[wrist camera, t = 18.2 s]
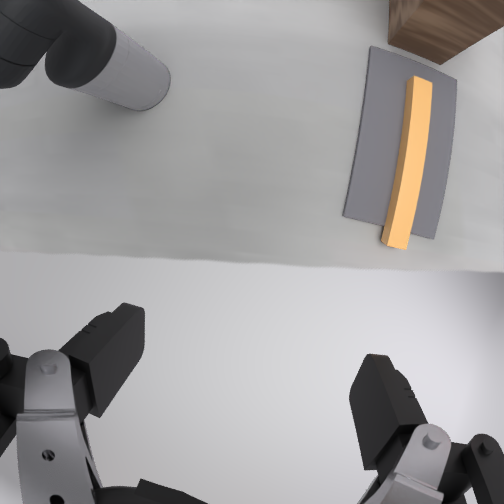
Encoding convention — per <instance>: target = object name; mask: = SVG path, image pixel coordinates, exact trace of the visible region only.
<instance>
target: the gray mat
mask: <svg viewBox="0 0 504 504" xmlns="http://www.w3.org/2000/svg"><path fill="white" fill-rule="evenodd" d="M413 76H417V77H419V78H422V79H424V80H427V81H429V82H432V100H431V113H430V124H429V133H428V141H427V149H426V156H425V163H424V169H423V175H422V181H421V186H420V191H419V196H418V201H417V206H416V211H415V215H414V220H413V224H412V228H411V232H410V233H412V234H416V235H420V236H423V237H427V238H431V239H434V237H435V233H436V229H437V225H438V221H439V217H440V213H441V208H442V204H443V199H444V194H445V189H446V183H447V178H448V172H449V165H450V159H451V152H452V144H453V135H454V125H455V113H456V95H457V80H456V79H454V78H452V77H450V76H448V75H446V74H444V73H442V72H439V71H437V70H435V69H433V68H431V67H428V66H426V65H423V64H421V63H419V62H416V61H414V60H411V59H409V58H406V57H403V56H401V55H398V54H395V53H392V52H389V51H387V50H384V49H380V48H377V47H374V46H371V47H370V50H369V60H368V69H367V78H366V86H365V94H364V101H363V108H362V115H361V121H360V128H359V134H358V140H357V146H356V151H355V157H354V162H353V168H352V173H351V178H350V183H349V188H348V193H347V197H346V202H345V207H344V211H343V216H344V217H349V218H353V219H357V220H361V221H365V222H369V223H374V224H378V225H382V226H385V222H386V217H387V213H388V208H389V204H390V199H391V194H392V189H393V184H394V178H395V173H396V167H397V161H398V155H399V148H400V141H401V134H402V126H403V118H404V109H405V99H406V87H407V80H409V79H410V78H411V77H413Z"/></svg>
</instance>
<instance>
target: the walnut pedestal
mask: <svg viewBox="0 0 504 504" xmlns="http://www.w3.org/2000/svg"><path fill="white" fill-rule="evenodd" d="M503 26H504V0H389V32H388V44H389V45H392V46H395V47H398V48H401V49H403V50H406V51H408V52H411V53H414V54H416V55H419V56H421V57H423V58H426V59H428V60H430V61H433V62H435V63H437V64H439V65H441V64H443V63H444V62H446V61H447V60H449V59H451V58H452V57H454V56H455V55H457V54H459V53H460V52H462V51H463V50H465V49H467V48H468V47H470V46H471V45H473V44H475V43H476V42H478V41H480V40H481V39H483V38H485V37H486V36H488V35H490V34H491V33H493V32H495V31H497V30H498V29H500V28H502V27H503Z"/></svg>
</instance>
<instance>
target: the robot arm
mask: <svg viewBox="0 0 504 504" xmlns="http://www.w3.org/2000/svg"><path fill="white" fill-rule="evenodd" d="M46 51H47V53H46ZM45 53H46V58H45V70H46V74H47V76H48V78H49V79H50V80H51V81H52V82H53V83H55V84H57V85H59V86H63V87H66V88H70V89H73V90H76V91H80V92H83V93H86V94H89V95H92V96H95V97H98V98H101V99H104V100H107V101H110V102H113V103H116V104H119V105H121V106H124V107H127V108H130V109H132V110H137V111H142V110H147V109H149V108H152V107H153V106H155V105H156V104H158V103H159V102H160V101H161V100H162V99H163V97H164V96H165V95H166V93H167V91H168V89H169V85H170V73H169V71H168V69H167V67H166V66H165V65H164V64H163V63H162V62H160V61H159V60H158V59H157V58H155V57H154V56H153V55H152V54H151V53H149V52H148V51H147V50H146V49H144V48H143V47H142V46H140V45H139V44H138V43H137V42H135V41H134V40H133V39H131V38H130V37H129V36H127V35H126V34H125V33H123V32H122V31H121V30H119V29H118V28H117V27H115V26H114V25H112V24H111V23H110V22H108V21H107V20H105V19H104V18H102V17H101V16H99V15H98V14H97V13H95V12H94V11H92V10H91V9H89V8H88V7H86V6H85V5H83V4H82V3H81V2H79V1H78V0H0V89H4V88H12V87H15V86H17V85H19V84H20V83H21V82H22V81H23V80H24V79H25V78H26V77H27V76H28V74H29V73H30V72H31V71H32V69H33V68H34V67H35V66H36V64H37V63H38V62H39V60H40V59H41V58H42V57H43V55H44V54H45ZM144 332H145V311H144V309H143V308H142V307H138V306H135V305H131V304H128V303H122V304H121V305H120V306H119V307H118V308H117V309H115V310H114V311H113V312H112V313H111V312H106V313H103V314H101V315H98V316H96V317H95V318H94V319H93V320H91V321H90V322H89V323H88V325H86V326H85V327H84V328H83V329H82V330H81V331H79V332H78V333H77V334H76V335H75V336H74V337H73V338H71V339H70V340H69V341H68V342H67V343H66V344H65V345H64V346H63V347H62V348H61V349H59V351H56V350H41V351H38V352H36V353H34V354H33V355H31V356H30V357H29V358H25V357H20V356H16V355H12V354H11V353H10V350H9V347H8V344H7V342H6V341H5V340H4V339H2V338H0V457H1V455H2V454H3V452H4V451H5V450H6V448H7V447H8V445H9V444H10V443H11V441H12V440H13V438H14V437H15V436H16V435H17V457H18V470H19V478H20V487H21V493H22V500H23V504H208V503H205V502H203V501H201V500H199V499H197V498H194V497H192V496H190V495H188V494H186V493H184V492H182V491H178V490H175V489H171V488H168V487H164V486H161V485H158V484H155V483H152V482H149V481H146V480H143V479H140V481H139V484H138V486H137V487H127V486H111V487H104V488H103V486H102V483H101V480H100V478H99V475H98V472H97V470H96V466H95V462H94V459H93V455H92V451H91V447H90V443H89V438H88V434H87V430H86V425H85V421H84V419H85V418H86V416H87V415H88V413H90V414H92V415H94V416H96V417H99V418H100V417H101V416H102V414H103V413H104V411H105V410H106V408H107V407H108V406H109V404H110V402H111V401H112V400H113V398H114V397H115V395H116V393H117V392H118V391H119V389H120V388H121V386H122V385H123V383H124V382H125V381H126V379H127V377H128V376H129V375H130V373H131V372H132V370H133V369H134V367H135V366H136V365H137V363H138V362H139V360H140V358H141V356H142V354H143V350H144V342H145V340H144V338H145V333H144ZM349 401H350V406H351V410H352V415H353V419H354V423H355V428H356V432H357V437H358V442H359V446H360V451H361V456H362V461H363V466H364V470H377V472H378V475H377V476H376V478H375V479H374V480H373V481H372V483H371V484H370V486H369V488H368V489H367V490H366V492H365V493H364V495H363V496H362V498H361V499H360V500H359V502H358V503H357V504H467V503H466V499H465V496H464V493H465V492H467V491H468V490H469V489H470V488H471V487H473V491H474V494H475V497H476V500H477V503H478V504H504V454H503V452H502V450H501V448H500V446H499V444H498V442H497V441H496V440H495V439H494V438H492V437H490V436H489V435H486V434H477V435H475V436H474V437H473V438H472V439H471V441H470V442H469V443H468V444H460V443H454V442H451V440H450V437H449V436H448V434H447V433H446V432H445V431H444V430H443V429H442V428H440V427H438V426H436V425H433V424H428V422H427V420H426V418H425V415H424V413H423V411H422V409H421V407H420V405H419V403H418V401H417V399H416V398H415V394H414V392H413V390H411V386H410V384H409V382H408V380H407V379H406V378H405V377H404V376H403V375H402V374H401V373H400V372H399V371H398V370H395V368H394V366H393V364H392V362H391V360H390V358H389V357H388V356H386V355H377V354H367V355H366V357H365V358H364V360H363V363H362V365H361V367H360V369H359V371H358V374H357V376H356V378H355V380H354V382H353V384H352V386H351V390H350V395H349Z"/></svg>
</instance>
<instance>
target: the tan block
mask: <svg viewBox="0 0 504 504" xmlns="http://www.w3.org/2000/svg"><path fill="white" fill-rule="evenodd" d="M431 100H432V82H429V81H427V80H424V79H422V78H419V77H417V76H413V77H411V78H410V79H409V80H407V87H406V99H405V109H404V118H403V126H402V134H401V141H400V148H399V155H398V161H397V167H396V173H395V178H394V184H393V189H392V194H391V199H390V204H389V208H388V213H387V217H386V222H385V226H384V230H383V234H382V238H381V242H383V243H384V244H386V245H387V246H391V247H395V248H400V249H404V250H406V248H407V244H408V240H409V236H410V232H411V228H412V224H413V220H414V215H415V211H416V206H417V201H418V196H419V191H420V186H421V181H422V175H423V169H424V163H425V156H426V149H427V141H428V133H429V124H430V113H431Z"/></svg>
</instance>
